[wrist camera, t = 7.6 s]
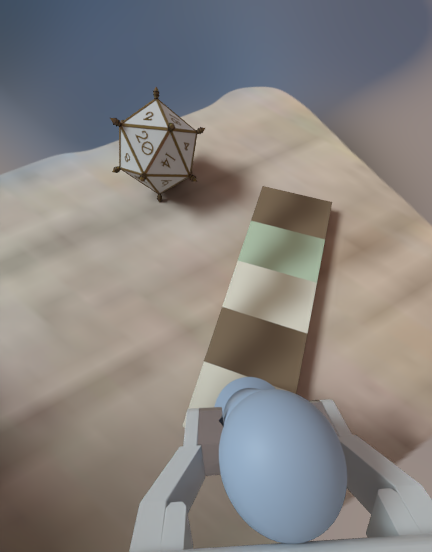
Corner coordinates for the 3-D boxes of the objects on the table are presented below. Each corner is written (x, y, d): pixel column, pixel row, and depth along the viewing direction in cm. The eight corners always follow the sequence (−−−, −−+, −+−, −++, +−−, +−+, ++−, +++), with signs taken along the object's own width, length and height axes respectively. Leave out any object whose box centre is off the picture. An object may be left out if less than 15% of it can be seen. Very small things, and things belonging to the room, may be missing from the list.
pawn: (204, 440, 15) (162, 560, 5) (226, 368, 17) (228, 345, 7) (274, 469, 15) (395, 676, 4) (290, 390, 16) (406, 405, 6)
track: (184, 423, 18) (182, 426, 17) (261, 194, 27) (262, 186, 26) (278, 461, 17) (282, 466, 16) (327, 210, 26) (332, 202, 25)
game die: (187, 206, 31) (227, 181, 22) (115, 209, 27) (126, 181, 18) (177, 131, 30) (213, 73, 21) (100, 123, 26) (105, 50, 17)
